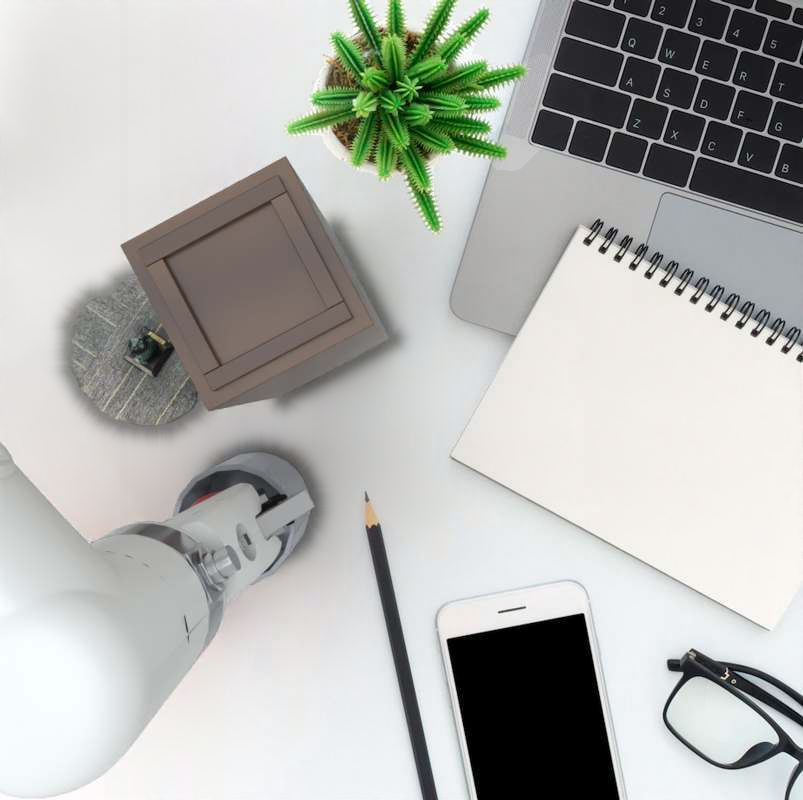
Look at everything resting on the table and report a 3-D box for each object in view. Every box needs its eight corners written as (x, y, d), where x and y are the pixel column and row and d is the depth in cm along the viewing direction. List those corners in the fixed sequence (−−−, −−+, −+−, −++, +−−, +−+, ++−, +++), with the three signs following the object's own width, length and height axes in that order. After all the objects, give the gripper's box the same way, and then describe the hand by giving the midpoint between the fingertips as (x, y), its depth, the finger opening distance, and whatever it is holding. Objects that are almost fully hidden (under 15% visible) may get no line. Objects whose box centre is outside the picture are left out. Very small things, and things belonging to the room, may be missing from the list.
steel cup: (185, 482, 69) (150, 499, 60) (279, 433, 69) (258, 443, 60) (235, 576, 69) (208, 607, 60) (329, 528, 69) (316, 552, 60)
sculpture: (221, 280, 69) (204, 342, 63) (229, 365, 75) (215, 428, 69) (72, 273, 68) (42, 335, 62) (93, 359, 74) (68, 422, 69)
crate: (224, 287, 68) (116, 243, 44) (332, 230, 68) (284, 153, 44) (281, 396, 69) (205, 412, 44) (389, 339, 68) (373, 323, 44)
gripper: (262, 452, 40) (311, 426, 58) (-51, 616, 40) (94, 540, 58) (336, 591, 40) (362, 522, 58) (22, 753, 41) (145, 634, 59)
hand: (227, 531), depth 58 cm, fingers closed on apple, 5 cm apart
